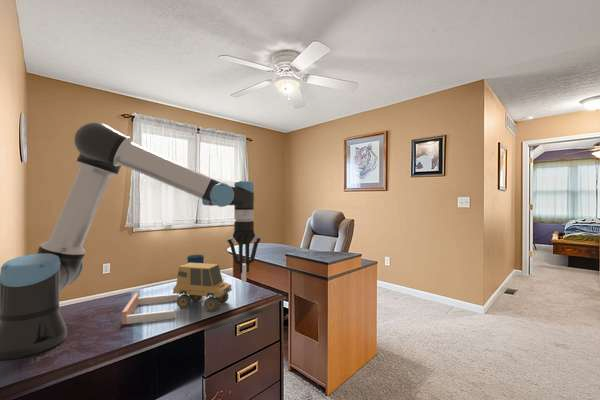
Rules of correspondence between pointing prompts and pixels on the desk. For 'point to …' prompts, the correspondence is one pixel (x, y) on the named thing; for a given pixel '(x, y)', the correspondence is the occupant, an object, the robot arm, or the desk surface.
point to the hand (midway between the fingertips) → (243, 280)
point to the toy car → (201, 285)
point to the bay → (145, 317)
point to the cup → (195, 258)
